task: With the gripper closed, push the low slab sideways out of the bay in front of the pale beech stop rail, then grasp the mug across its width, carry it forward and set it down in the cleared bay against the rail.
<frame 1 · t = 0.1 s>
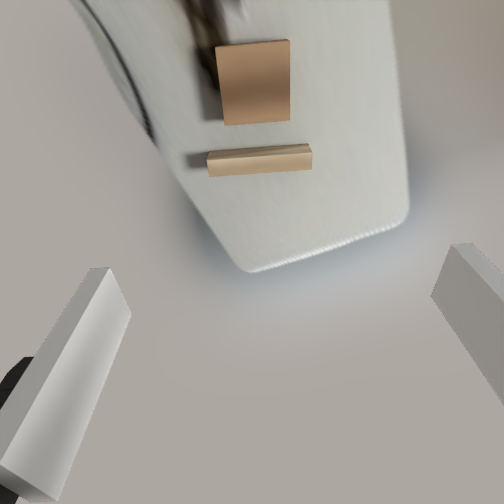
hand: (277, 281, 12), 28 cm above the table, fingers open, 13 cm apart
slab: (254, 81, 33), on the table
stop rail: (258, 155, 37), on the table
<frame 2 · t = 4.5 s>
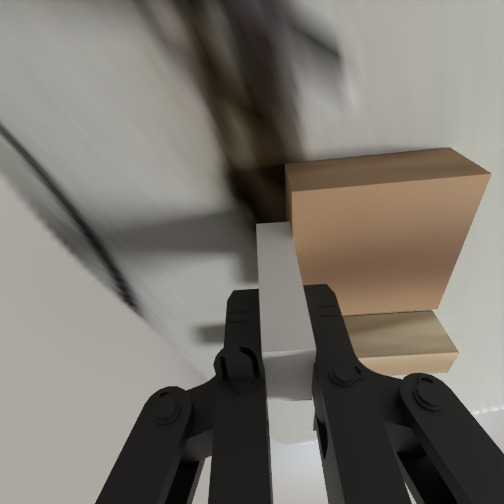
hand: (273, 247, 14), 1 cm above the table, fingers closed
slab: (355, 222, 15), on the table
stop rail: (334, 327, 20), on the table
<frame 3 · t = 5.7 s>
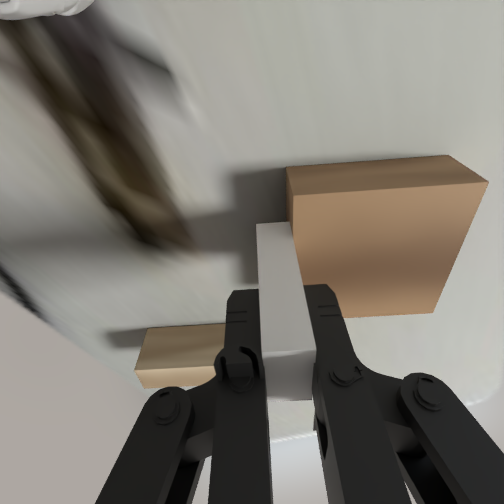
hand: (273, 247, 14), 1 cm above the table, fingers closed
slab: (354, 226, 15), on the table, touching gripper
stop rail: (240, 332, 20), on the table
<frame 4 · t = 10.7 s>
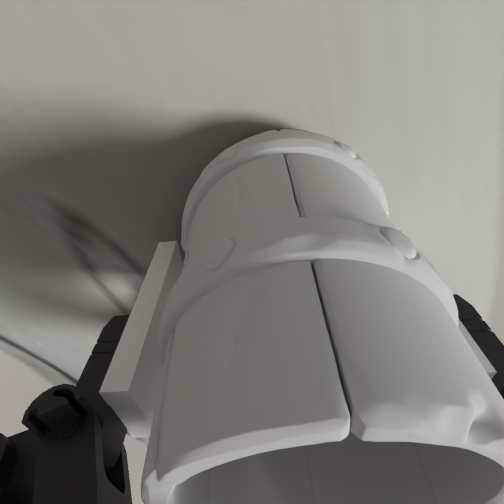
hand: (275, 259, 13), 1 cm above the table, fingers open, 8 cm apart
mug: (260, 246, 14), on the table, touching gripper
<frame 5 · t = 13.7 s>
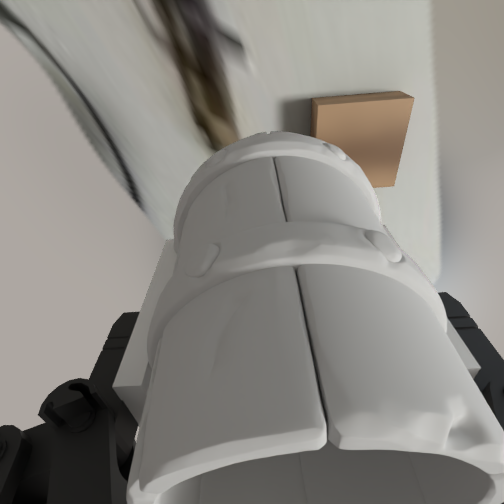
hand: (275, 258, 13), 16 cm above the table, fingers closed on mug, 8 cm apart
slab: (349, 137, 27), on the table
mug: (254, 248, 14), point 15 cm above the table, touching gripper
when the fingers open (3 cm above the table, at t = 16.6 s): mug drops 2 cm, on the table.
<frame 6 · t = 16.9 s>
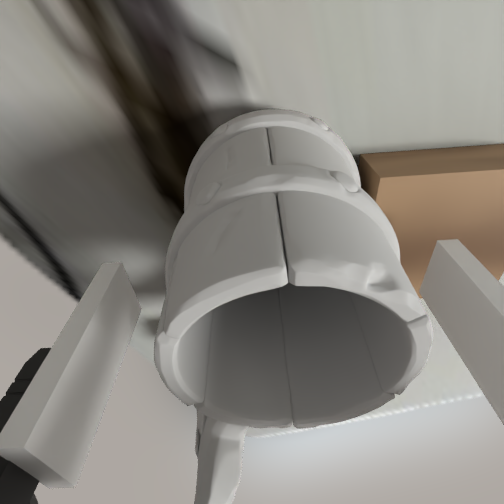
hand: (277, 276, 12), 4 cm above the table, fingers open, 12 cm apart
slab: (414, 211, 16), on the table
mug: (254, 217, 16), on the table
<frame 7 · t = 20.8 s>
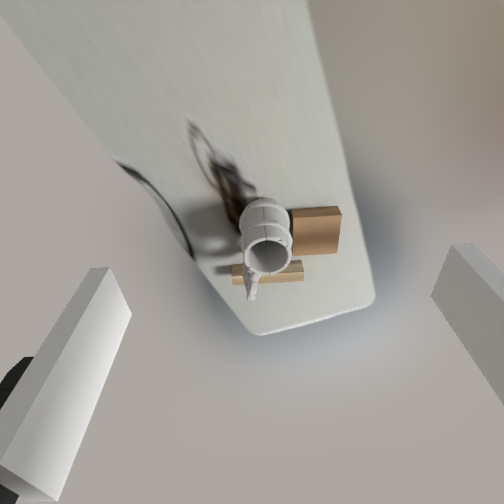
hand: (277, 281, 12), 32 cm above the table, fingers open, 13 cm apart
slab: (312, 225, 49), on the table
stop rail: (266, 267, 53), on the table
mug: (259, 227, 49), on the table
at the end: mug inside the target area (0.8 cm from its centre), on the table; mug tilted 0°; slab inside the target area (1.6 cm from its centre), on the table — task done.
